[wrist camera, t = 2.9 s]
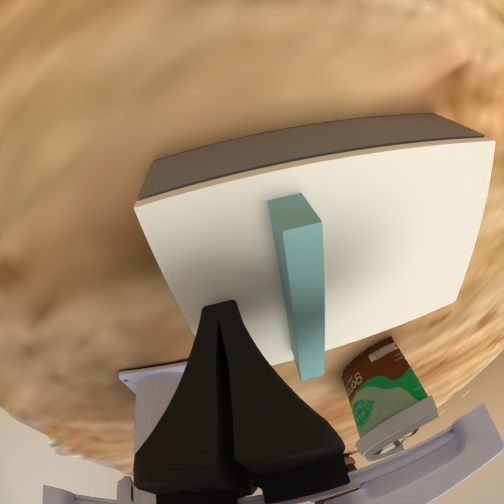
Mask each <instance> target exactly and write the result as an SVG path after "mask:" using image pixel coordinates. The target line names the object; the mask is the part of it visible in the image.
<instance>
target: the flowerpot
mask: <svg viewBox="0 0 504 504" xmlns="http://www.w3.org/2000/svg"><path fill="white" fill-rule="evenodd" d="M343 457H344V460H345V463H346V464H345V466H346V470H347V473H349V472H352V471H355V470H357V469H356V467H355V466H354V464H355V460H354V459H353V458H352V457H349V455H343ZM360 486H361V485H359V486H356V487H354V488H351V489H348V490H345V491H342V492H338V493H335V494H332V495H329V496H325V497H322V498H318V499H314V500H310V501H311V502H312V503H314V502H315V504H324V502H325V501H327V500H331V499H334V498H337V497H340V496H343V495H345V494H348V493H351V492H354V491H357V490H359V487H360Z"/></svg>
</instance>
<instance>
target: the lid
mask: <svg viewBox="0 0 504 504" xmlns="http://www.w3.org/2000/svg"><path fill="white" fill-rule="evenodd" d="M494 150H495V140H493V139H491V138H489V137H483V138H465V139H450V140H438V141H427V142H417V143H408V144H400V145H391V146H384V147H376V148H369V149H362V150H356V151H349V152H343V153H337V154H331V155H325V156H320V157H314V158H309V159H304V160H298V161H293V162H288V163H283V164H279V165H274V166H269V167H265V168H260V169H256V170H251V171H247V172H242V173H238V174H234V175H230V176H226V177H222V178H218V179H214V180H210V181H206V182H202V183H198V184H195V185H191V186H187V187H184V188H180V189H177V190H173V191H170V192H166V193H163V194H159V195H156V196H153V197H149V198H146V199H143V200H139V201H136V203H135V206H134V210H135V213H136V215H137V218H138V220H139V222H140V225H141V227H142V229H143V232H144V234H145V236H146V239H147V241H148V243H149V245H150V248H151V250H152V252H153V254H154V256H155V259H156V261H157V263H158V265H159V267H160V269H161V271H162V274H163V276H164V278H165V280H166V282H167V284H168V286H169V288H170V290H171V292H172V294H173V296H174V298H175V300H176V302H177V304H178V306H179V308H180V310H181V312H182V314H183V316H184V318H185V320H186V322H187V323H188V325H189V327H190V329H191V331H192V333H193V335H194V337H196V333H197V329H198V325H199V321H200V316H201V310H202V308H203V307H204V306H207V305H212V304H216V303H220V302H224V301H229V300H235V301H236V302H237V305H238V308H239V311H240V314H241V317H242V320H243V323H244V325H245V327H246V329H247V331H248V332H249V334H250V336H251V337H252V339H253V341H254V342H255V344H256V346H257V347H258V349H259V350H260V351H261V353H262V354H263V356H264V357H265V359H266V360H267V361H268V363H269V364H270V365H271V366H272V365H276V364H280V363H284V362H288V361H291V360H295V363H296V366H297V369H298V372H299V376H300V379H301V381H305V380H308V379H312V378H315V377H318V376H322V375H324V362H325V351H326V350H329V349H333V348H336V347H339V346H342V345H345V344H348V343H351V342H354V341H357V340H360V339H363V338H366V337H369V336H372V335H374V334H377V333H380V332H383V331H385V330H388V329H391V328H393V327H396V326H399V325H401V324H404V323H406V322H409V321H411V320H414V319H416V318H418V317H421V316H423V315H426V314H428V313H430V312H433V311H435V310H437V309H439V308H442V307H444V306H446V305H448V304H451V303H453V302H455V301H456V298H457V296H458V293H459V290H460V288H461V285H462V282H463V280H464V277H465V274H466V271H467V268H468V265H469V262H470V259H471V256H472V253H473V249H474V246H475V243H476V239H477V236H478V232H479V228H480V224H481V220H482V216H483V212H484V208H485V203H486V199H487V194H488V189H489V183H490V178H491V171H492V165H493V158H494Z"/></svg>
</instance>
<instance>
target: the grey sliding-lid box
mask: <svg viewBox="0 0 504 504" xmlns="http://www.w3.org/2000/svg"><path fill="white" fill-rule="evenodd" d="M483 137H484V135H483V134H481V133H479V132H477V131H474V130H472V129H470V128H468V127H466V126H463V125H461V124H459V123H456V122H454V121H452V120H449V119H447V118H444V117H442V116H439V115H437V114H411V115H394V116H380V117H369V118H359V119H350V120H341V121H334V122H326V123H319V124H312V125H306V126H300V127H294V128H288V129H282V130H277V131H272V132H267V133H262V134H257V135H252V136H247V137H243V138H238V139H234V140H229V141H225V142H221V143H217V144H213V145H209V146H205V147H201V148H197V149H194V150H190V151H186V152H183V153H179V154H176V155H172V156H169V157H166V158H162V159H159V160H156V161H153V163H152V165H151V167H150V169H149V172H148V174H147V176H146V179H145V181H144V183H143V186H142V188H141V191H140V193H139V196H138V200H143V199H146V198H149V197H153V196H156V195H159V194H163V193H166V192H170V191H173V190H177V189H180V188H184V187H187V186H191V185H195V184H198V183H202V182H206V181H210V180H214V179H218V178H222V177H226V176H230V175H234V174H238V173H242V172H247V171H251V170H256V169H260V168H265V167H269V166H274V165H279V164H283V163H288V162H293V161H298V160H304V159H309V158H314V157H320V156H325V155H331V154H337V153H343V152H349V151H356V150H362V149H369V148H376V147H384V146H391V145H400V144H408V143H417V142H427V141H438V140H450V139H465V138H483Z"/></svg>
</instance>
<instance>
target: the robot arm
mask: <svg viewBox="0 0 504 504" xmlns="http://www.w3.org/2000/svg"><path fill="white" fill-rule="evenodd" d="M118 378H119V379H120V380H121V381H122V382H123V383H124V384H125V385H126V386H127V387H128V388H129V389H130V390H131V391H132V392H133V393H135V394H136V403H135V431H134V468H133V481H132V479H131V476H124V477H123V479H121V480H120V481H118V485H117V500H111V499H103V498H96V497H89V496H83V495H77V494H73V493H72V492H68V491H66V490H63V489H59V488H54V487H50V486H46V485H44V486H43V504H298V503H302V502H306V501H310V500H314V499H318V498H322V497H325V496H329V495H332V494H335V493H338V492H342V491H345V490H348V489H351V488H354V487H356V486H359V485H361V486H360V487H359V490H357V491H354V492H351V493H348V494H345V495H343V496H340V497H337V498H334V499H331V500H327V501H325V502H324V504H428V503H430V502H431V501H433V500H435V499H437V498H438V497H440V496H441V495H443V494H445V493H446V492H448V491H449V490H451V489H452V488H454V487H455V486H457V485H458V484H460V483H461V482H462V481H464V480H465V479H466V478H468V477H470V476H471V475H472V474H474V473H475V472H476V471H477V470H479V469H480V468H482V467H483V466H484V465H486V464H487V463H488V462H490V461H491V460H492V459H493V458H495V457H496V456H497V455H499V454H500V453H501V452H502V451H503V450H504V443H503V441H502V439H501V437H500V435H499V432H498V430H497V428H496V426H495V424H494V422H493V420H492V418H491V417H490V414H489V412H488V410H487V409H486V406H485V405H484V403H481V404H479V405H478V406H476V407H475V408H473V409H472V410H471V411H469V412H467V413H466V414H464V415H463V416H461V417H460V418H458V419H457V420H456V421H455V422H454V423H453V424H452V425H451V426H449V427H448V428H446V429H444V430H442V431H441V432H439V433H437V434H435V435H433V436H432V437H430V438H428V439H426V440H424V441H422V442H420V443H418V444H416V445H414V446H412V447H410V448H408V449H406V450H404V451H402V452H399V453H397V454H395V455H393V456H390V457H388V458H386V459H383V460H381V461H378V462H376V463H374V464H371V465H368V466H366V467H363V468H360V469H357V470H355V471H352V472H349V473H347V470H346V466H345V464H346V463H345V460H344V457H343V452H344V450H345V445H344V443H343V441H342V439H341V438H340V436H339V435H338V434H337V432H336V431H335V430H334V429H333V428H332V427H331V425H330V424H329V423H328V421H326V420H325V419H324V418H323V417H321V416H320V415H319V414H318V413H317V412H315V411H314V410H313V409H312V408H311V407H310V406H309V405H307V404H306V403H305V402H304V401H303V400H302V399H301V398H300V397H299V396H298V395H297V394H296V393H295V392H294V391H293V390H292V389H291V388H290V387H289V386H288V385H287V384H286V383H285V382H284V381H283V379H282V378H281V377H280V376H279V375H278V374H277V373H276V371H275V370H274V369H273V368H272V366H271V365H270V364H269V363H268V361H267V360H266V359H265V357H264V356H263V354H262V353H261V351H260V350H259V349H258V347H257V346H256V344H255V342H254V341H253V339H252V337H251V336H250V334H249V332H248V331H247V329H246V327H245V325H244V323H243V320H242V317H241V314H240V311H239V308H238V305H237V302H236V301H235V300H229V301H224V302H220V303H216V304H212V305H207V306H204V307H203V308H202V310H201V316H200V321H199V325H198V329H197V333H196V337H195V340H194V343H193V347H192V350H191V353H190V356H189V359H188V361H187V362H181V363H175V364H169V365H163V366H157V367H151V368H144V369H137V370H130V371H122V372H119V374H118ZM258 487H259V488H261V489H262V491H263V495H257V496H252V494H253V493H254V492H255V491H256V490H257V488H258Z"/></svg>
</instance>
